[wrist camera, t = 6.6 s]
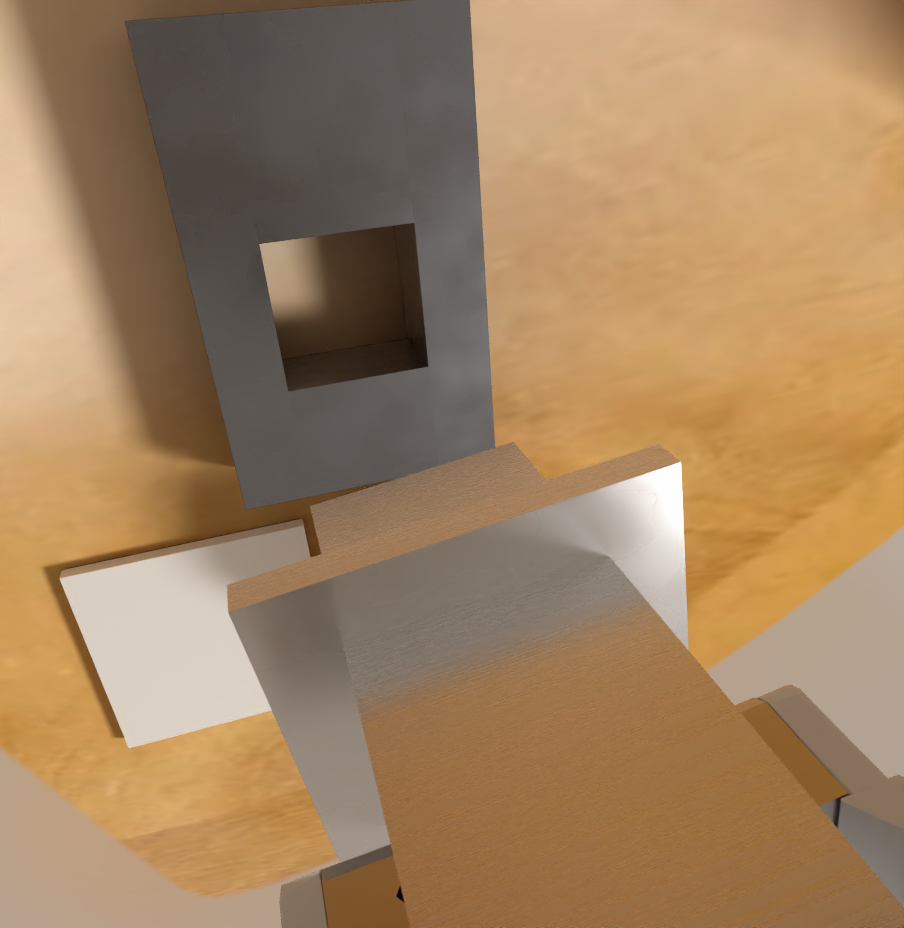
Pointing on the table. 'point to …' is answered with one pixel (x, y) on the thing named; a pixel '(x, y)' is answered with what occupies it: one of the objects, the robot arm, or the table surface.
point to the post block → (328, 227)
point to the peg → (536, 710)
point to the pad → (176, 629)
